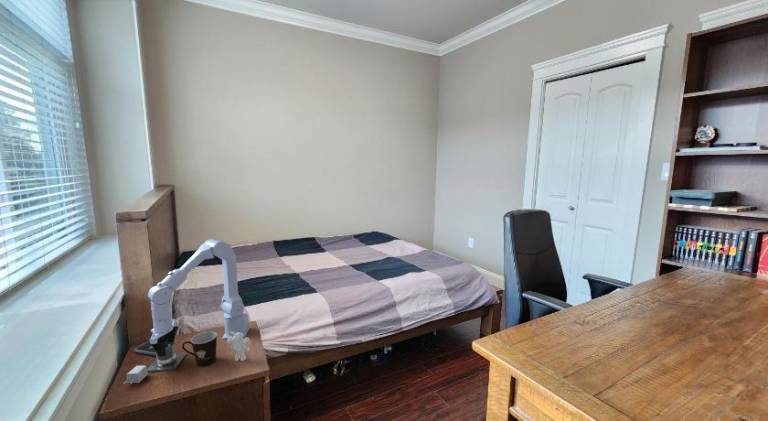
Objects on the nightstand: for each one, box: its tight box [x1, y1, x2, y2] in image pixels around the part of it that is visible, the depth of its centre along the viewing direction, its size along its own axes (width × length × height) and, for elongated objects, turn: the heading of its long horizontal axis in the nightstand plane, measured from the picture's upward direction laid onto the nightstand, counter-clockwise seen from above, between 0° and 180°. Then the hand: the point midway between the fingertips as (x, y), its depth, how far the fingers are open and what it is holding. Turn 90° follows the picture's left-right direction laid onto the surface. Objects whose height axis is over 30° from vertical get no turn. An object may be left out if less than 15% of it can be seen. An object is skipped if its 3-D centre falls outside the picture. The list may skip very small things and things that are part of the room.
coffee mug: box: [181, 331, 218, 368], centre depth 123 cm, size 12×9×10 cm
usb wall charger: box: [123, 365, 149, 385], centre depth 111 cm, size 4×7×4 cm, turn 1°
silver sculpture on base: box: [147, 352, 188, 373], centre depth 122 cm, size 10×10×6 cm
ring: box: [155, 341, 176, 360], centre depth 122 cm, size 6×6×4 cm
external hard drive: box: [134, 340, 156, 358], centre depth 131 cm, size 7×11×2 cm, turn 76°
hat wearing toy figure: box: [226, 331, 251, 362], centre depth 124 cm, size 9×4×12 cm, turn 81°
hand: (166, 351), depth 122 cm, fingers closed on ring, 5 cm apart
